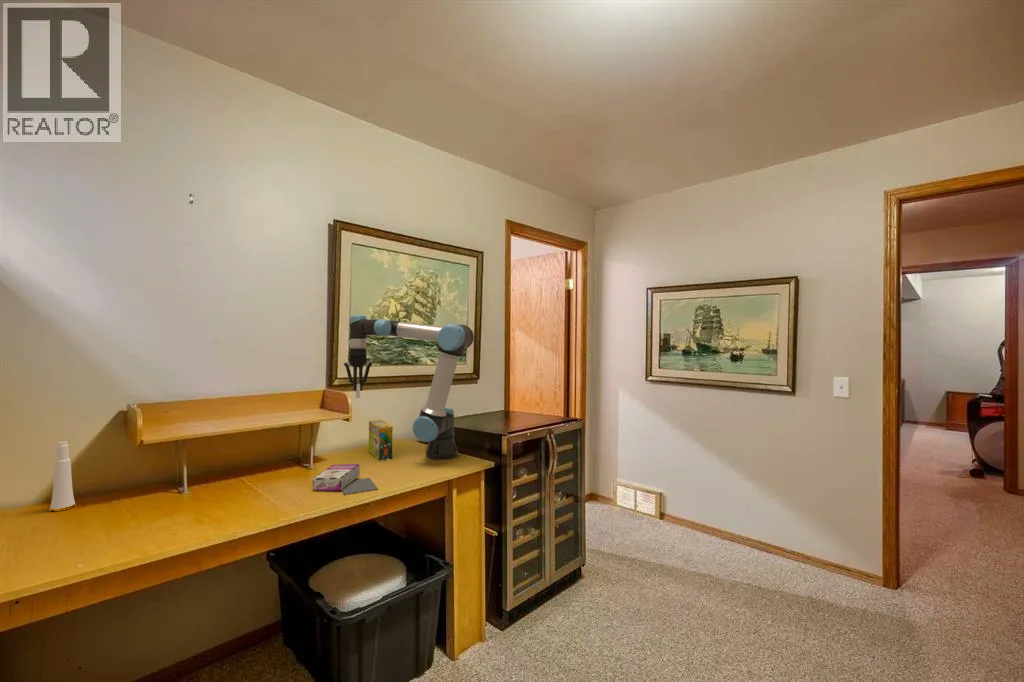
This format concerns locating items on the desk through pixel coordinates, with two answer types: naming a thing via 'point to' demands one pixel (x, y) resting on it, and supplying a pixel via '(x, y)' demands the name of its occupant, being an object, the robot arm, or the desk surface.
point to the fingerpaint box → (380, 439)
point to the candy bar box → (336, 477)
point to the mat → (359, 486)
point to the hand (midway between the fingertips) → (357, 397)
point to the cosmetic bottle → (62, 479)
